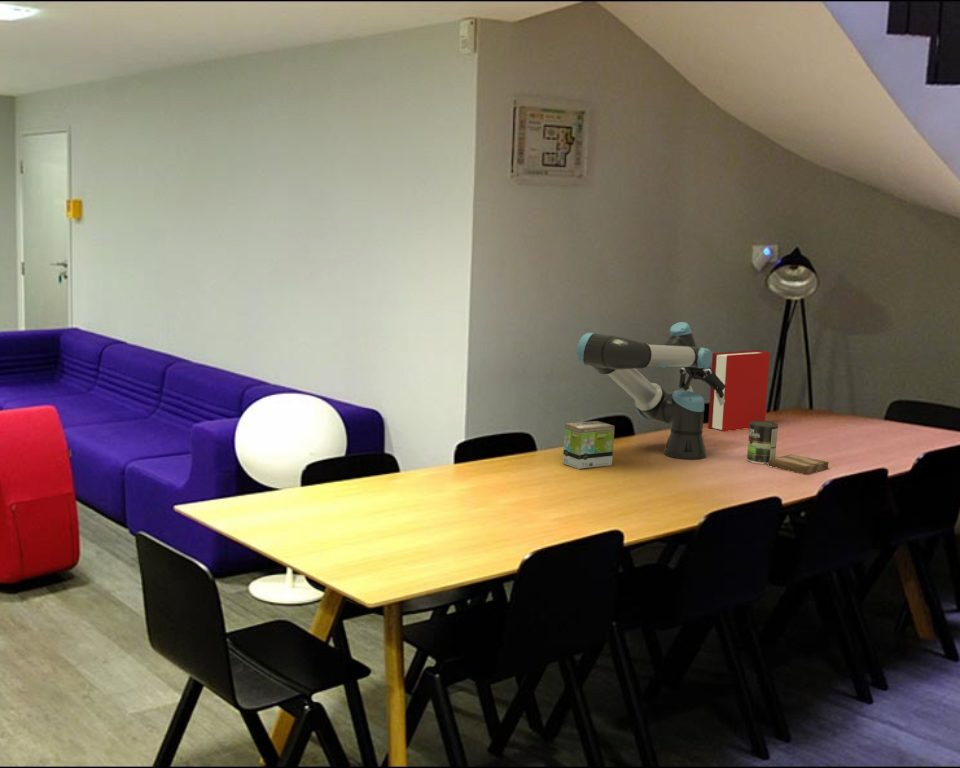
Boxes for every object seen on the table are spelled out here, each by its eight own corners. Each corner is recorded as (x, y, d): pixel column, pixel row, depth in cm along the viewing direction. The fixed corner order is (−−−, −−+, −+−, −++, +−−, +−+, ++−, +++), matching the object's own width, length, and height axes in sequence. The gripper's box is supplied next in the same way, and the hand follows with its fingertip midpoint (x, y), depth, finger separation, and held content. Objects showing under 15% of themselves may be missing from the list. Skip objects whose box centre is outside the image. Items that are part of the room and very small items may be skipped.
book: (722, 431, 450) (727, 355, 445) (707, 428, 456) (712, 353, 451) (766, 426, 465) (772, 352, 460) (752, 422, 472) (757, 350, 467)
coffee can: (757, 465, 390) (760, 426, 388) (740, 458, 400) (743, 421, 397) (781, 463, 394) (784, 425, 392) (764, 457, 403) (767, 420, 401)
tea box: (579, 470, 374) (581, 428, 372) (562, 464, 383) (563, 423, 380) (613, 465, 383) (615, 424, 380) (595, 459, 391) (597, 419, 389)
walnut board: (805, 474, 377) (806, 467, 377) (768, 466, 388) (768, 459, 388) (827, 468, 388) (828, 461, 387) (790, 461, 398) (791, 453, 398)
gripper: (723, 354, 412) (739, 398, 421) (669, 352, 430) (686, 394, 439) (713, 365, 408) (730, 410, 417) (660, 363, 426) (677, 405, 435)
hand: (708, 402), depth 428 cm, fingers open, 13 cm apart
